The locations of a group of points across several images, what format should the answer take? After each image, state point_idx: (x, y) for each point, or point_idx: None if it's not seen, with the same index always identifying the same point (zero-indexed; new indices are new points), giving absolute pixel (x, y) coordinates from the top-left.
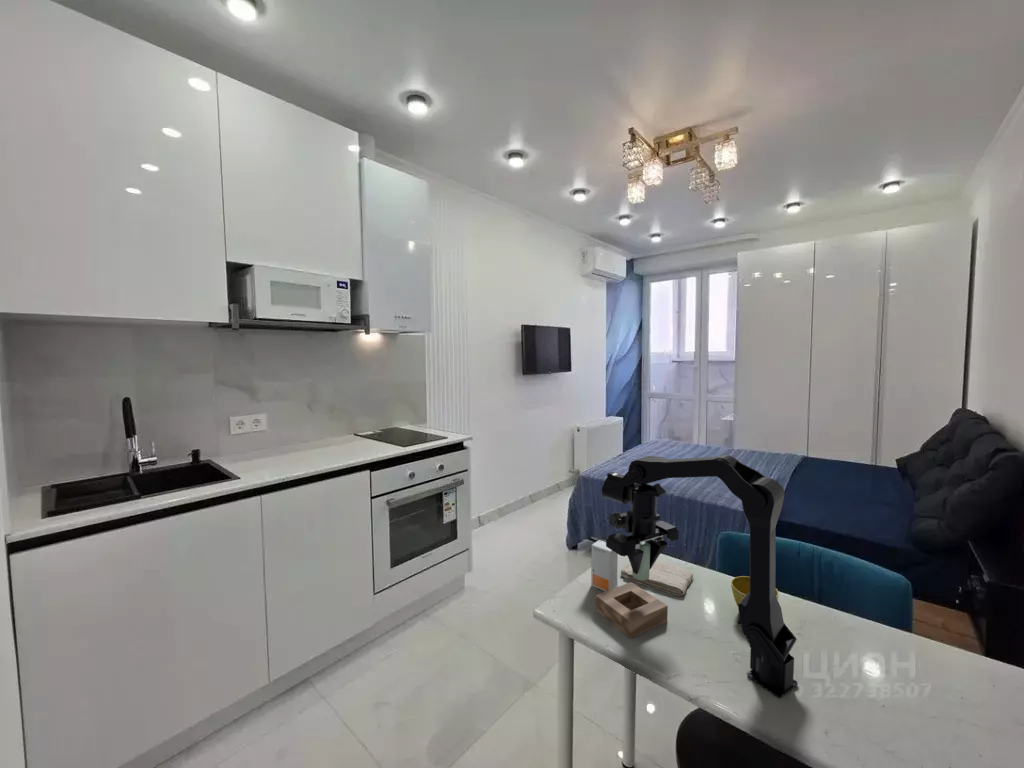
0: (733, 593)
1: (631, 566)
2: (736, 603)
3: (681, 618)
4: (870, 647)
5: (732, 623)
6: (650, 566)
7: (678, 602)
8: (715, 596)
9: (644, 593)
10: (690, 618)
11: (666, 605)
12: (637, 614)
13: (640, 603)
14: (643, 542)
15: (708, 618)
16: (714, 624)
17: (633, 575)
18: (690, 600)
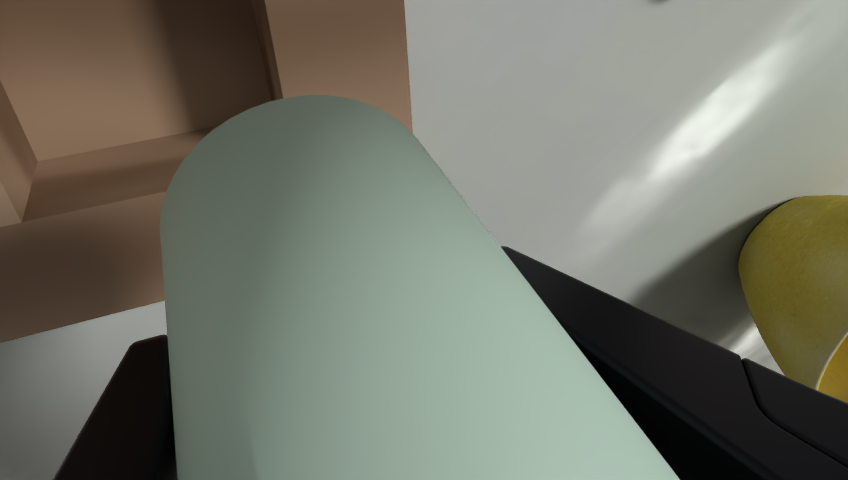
0: (828, 278)
1: (81, 435)
2: (787, 246)
3: (483, 169)
4: None
5: (657, 269)
6: None
7: (614, 12)
8: (828, 53)
9: (361, 8)
10: (528, 184)
11: None
12: (66, 285)
13: (261, 31)
14: None
15: (607, 211)
16: (586, 257)
17: (161, 247)
18: (693, 26)
